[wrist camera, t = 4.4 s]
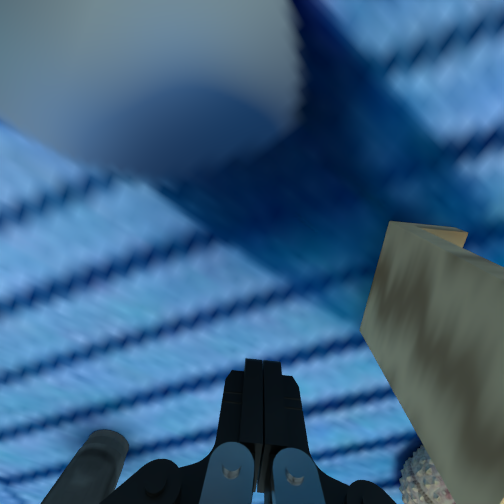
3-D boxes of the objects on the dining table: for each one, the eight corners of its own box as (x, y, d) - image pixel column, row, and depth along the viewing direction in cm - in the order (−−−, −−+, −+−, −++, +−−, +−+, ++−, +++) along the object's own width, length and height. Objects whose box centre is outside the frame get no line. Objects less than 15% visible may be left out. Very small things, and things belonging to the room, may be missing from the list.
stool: (389, 220, 21) (609, 336, 8) (454, 227, 21) (785, 354, 8) (359, 330, 24) (475, 540, 11) (415, 335, 24) (597, 552, 11)
